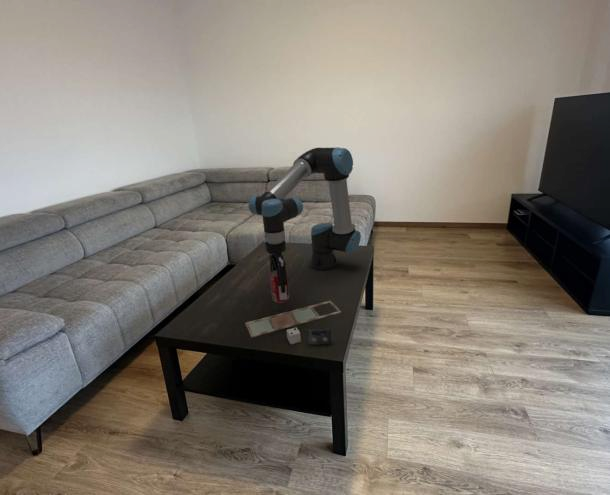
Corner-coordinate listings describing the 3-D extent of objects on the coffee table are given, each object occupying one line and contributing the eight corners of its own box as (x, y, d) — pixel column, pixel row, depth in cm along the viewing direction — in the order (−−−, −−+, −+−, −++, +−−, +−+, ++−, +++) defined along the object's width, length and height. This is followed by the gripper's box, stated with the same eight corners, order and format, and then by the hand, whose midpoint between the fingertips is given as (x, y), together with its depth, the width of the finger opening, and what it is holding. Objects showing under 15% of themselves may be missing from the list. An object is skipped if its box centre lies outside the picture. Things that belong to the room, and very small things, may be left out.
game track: (330, 301, 158) (330, 300, 157) (341, 312, 148) (341, 311, 148) (245, 323, 145) (245, 322, 145) (251, 337, 136) (251, 336, 136)
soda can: (292, 296, 143) (289, 269, 139) (285, 305, 137) (283, 277, 133) (276, 294, 146) (273, 268, 141) (269, 302, 139) (266, 275, 135)
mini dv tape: (330, 341, 131) (330, 328, 128) (330, 344, 129) (330, 330, 127) (308, 342, 131) (307, 328, 129) (308, 344, 130) (307, 331, 128)
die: (297, 336, 135) (296, 326, 134) (300, 341, 132) (300, 332, 130) (287, 338, 134) (286, 329, 132) (290, 344, 131) (289, 334, 129)
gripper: (258, 235, 140) (264, 286, 148) (273, 251, 122) (278, 308, 131) (276, 231, 142) (281, 282, 150) (293, 247, 125) (297, 303, 133)
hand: (280, 294), depth 141 cm, fingers closed on soda can, 7 cm apart
